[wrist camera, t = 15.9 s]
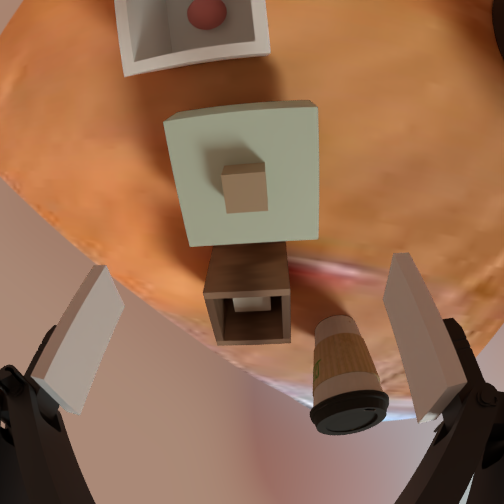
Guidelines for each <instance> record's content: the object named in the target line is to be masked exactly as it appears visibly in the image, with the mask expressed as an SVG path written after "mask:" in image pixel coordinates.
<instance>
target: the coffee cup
mask: <svg viewBox="0 0 504 504" xmlns="http://www.w3.org/2000/svg"><path fill="white" fill-rule="evenodd" d="M313 397H314V404H313V408H312V409H311V411H310V418H311V420H312V422H313V423H314V424H315V426H316V428H317V430H318V431H319V432H320V433H323V434H327V435H346V434H352V433H357V432H360V431H364V430H366V429H369V428H371V427H373V426H375V425H377V424H378V423H380V422H381V421H382V420H383V419H384V418H385V417H386V411H387V408H388V406H389V397H388V395H387V394H386V393H385V392H383V390H382V387H381V385H380V378H379V376H378V373H377V371H376V368H375V366H374V363H373V361H372V358H371V356H370V353H369V351H368V349H367V346H366V344H365V341H364V339H363V338H362V337H361V334H360V332H359V330H358V327H357V325H356V323H355V321H354V320H353V319H352V318H351V317H348V316H344V315H337V316H332V317H329V318H326V319H324V320H323V321H321V322H320V323H319V324H318V325H317V327H316V329H315V349H314V368H313Z"/></svg>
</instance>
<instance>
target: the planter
mask: <svg viewBox="0 0 504 504" xmlns="http://www.w3.org/2000/svg"><path fill="white" fill-rule="evenodd" d="M193 1H194V0H114V3H115V13H116V22H117V30H118V38H119V46H120V53H121V59H122V66H123V72H124V77H127V76H132V75H137V74H142V73H148V72H154V71H160V70H167V69H172V68H177V67H183V66H188V65H194V64H200V63H206V62H213V61H221V60H229V59H238V58H248V57H260V56H268V55H269V54H270V53H271V51H270V41H269V31H268V22H267V12H266V3H265V0H221V1H223V3H224V4H225V6H226V9H227V15H226V18H225V20H224V21H223V23H222V24H221V25H219V26H218V27H216V28H214V29H210V30H202V29H198V28H196V27H194V26H193V25H192V24H191V23H190V22H189V20H188V17H187V10H188V7H189V6H190V4H191V3H192V2H193Z"/></svg>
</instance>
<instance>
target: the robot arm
mask: <svg viewBox="0 0 504 504" xmlns="http://www.w3.org/2000/svg"><path fill="white" fill-rule="evenodd" d="M493 25H494V31H495V35H496V39H497V43H498V46H499V49H500V52H501V54H502V57H503V59H504V0H494V1H493ZM383 301H384V304H385V307H386V310H387V313H388V316H389V319H390V322H391V326H392V329H393V332H394V335H395V338H396V342H397V345H398V348H399V352H400V355H401V358H402V362H403V365H404V369H405V373H406V376H407V380H408V384H409V388H410V392H411V396H412V400H413V404H414V408H415V413H416V417H417V422H418V424H419V423H423V422H427V421H432V420H435V419H437V417H438V416H439V415H440V414H441V413H442V415H443V419H444V420H443V421H442V422H441V424H440V425H439V426H438V427H437V428H436V429H435V430H434V432H437V433H436V435H435V437H434V439H433V441H432V443H431V445H430V447H429V449H428V450H427V453H426V454H425V456H424V458H423V459H422V461H421V463H420V465H419V466H418V468H417V470H416V472H415V473H414V474H413V476H412V478H411V480H410V481H409V482H408V484H407V486H406V487H405V489H404V490H403V492H402V493H401V495H400V496H399V498H398V499H397V500H396V502H395V504H459V502H460V500H461V498H462V496H463V495H464V493H465V490H466V489H467V486H468V485H469V482H470V480H471V478H472V476H473V474H474V476H473V481H472V485H471V488H470V492H469V495H468V499H467V502H466V504H504V392H499V391H497V390H496V389H495V387H494V386H493V385H491V384H489V383H486V382H485V380H484V378H483V376H482V373H481V371H480V368H479V366H478V364H477V361H476V358H475V356H474V354H473V351H472V349H471V348H470V344H469V342H468V340H466V336H465V333H464V331H463V329H462V327H461V326H460V325H459V324H458V323H457V322H456V321H455V320H454V319H453V318H448V319H442V318H441V316H440V313H439V311H438V309H437V307H436V305H435V303H434V301H433V298H432V296H431V294H430V292H429V290H428V288H427V286H426V284H425V282H424V280H423V278H422V276H421V274H420V273H419V271H418V269H417V267H416V265H415V263H414V261H413V259H412V258H411V256H410V254H409V253H393V257H392V262H391V267H390V271H389V276H388V280H387V284H386V288H385V293H384V297H383ZM124 307H125V305H124V303H123V301H122V299H121V297H120V295H119V293H118V291H117V288H116V286H115V284H114V282H113V279H112V277H111V275H110V273H109V270H108V268H107V266H106V265H94V266H93V268H92V269H91V271H90V272H89V274H88V275H87V277H86V278H85V280H84V282H83V283H82V285H81V286H80V288H79V290H78V291H77V293H76V294H75V296H74V297H73V299H72V301H71V302H70V304H69V306H68V307H67V309H66V311H65V313H64V314H63V316H62V318H61V319H60V321H59V323H58V325H54V326H53V327H52V328H51V329H50V330H49V331H48V332H47V333H46V335H45V337H44V339H43V341H42V344H40V346H39V348H38V351H37V352H36V354H35V355H34V357H33V359H32V361H31V363H30V365H29V367H28V369H27V371H26V373H25V375H24V376H23V375H22V374H21V373H20V372H19V371H18V370H17V369H16V368H15V367H14V366H13V365H6V366H4V367H3V368H1V369H0V425H1V421H2V422H4V423H5V429H4V428H2V427H1V426H0V504H95V502H94V500H93V497H92V495H91V493H90V491H89V489H88V487H87V484H86V482H85V480H84V477H83V475H82V473H81V470H80V468H79V465H78V463H77V460H76V457H75V455H74V452H73V449H72V446H71V444H70V441H69V438H68V435H67V432H66V429H65V426H64V423H63V420H62V416H61V414H60V412H59V411H58V408H59V405H60V406H61V407H62V408H63V409H64V410H66V411H67V412H70V413H73V414H77V415H80V414H81V411H82V408H83V406H84V403H85V400H86V398H87V395H88V392H89V390H90V387H91V384H92V382H93V379H94V377H95V374H96V372H97V369H98V367H99V364H100V362H101V359H102V357H103V355H104V352H105V350H106V347H107V345H108V343H109V341H110V338H111V336H112V333H113V331H114V329H115V327H116V324H117V322H118V320H119V318H120V316H121V313H122V311H123V309H124Z"/></svg>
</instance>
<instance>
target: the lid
mask: <svg viewBox="0 0 504 504" xmlns="http://www.w3.org/2000/svg"><path fill="white" fill-rule="evenodd" d="M163 124H164V129H165V135H166V140H167V145H168V150H169V155H170V160H171V165H172V170H173V175H174V180H175V184H176V189H177V194H178V198H179V203H180V207H181V212H182V216H183V220H184V225H185V229H186V233H187V237H188V241H189V246H190V247H196V246H212V245H228V244H244V243H260V242H277V241H294V240H312V239H318V231H319V131H318V107H317V106H316V105H315V104H314V103H312V102H311V101H310V100H291V101H271V102H257V103H245V104H235V105H226V106H217V107H209V108H202V109H195V110H188V111H182V112H177V113H175V114H174V115H172V116H171V117H169V118H168V119H167V120H165V121H164V122H163Z"/></svg>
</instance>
